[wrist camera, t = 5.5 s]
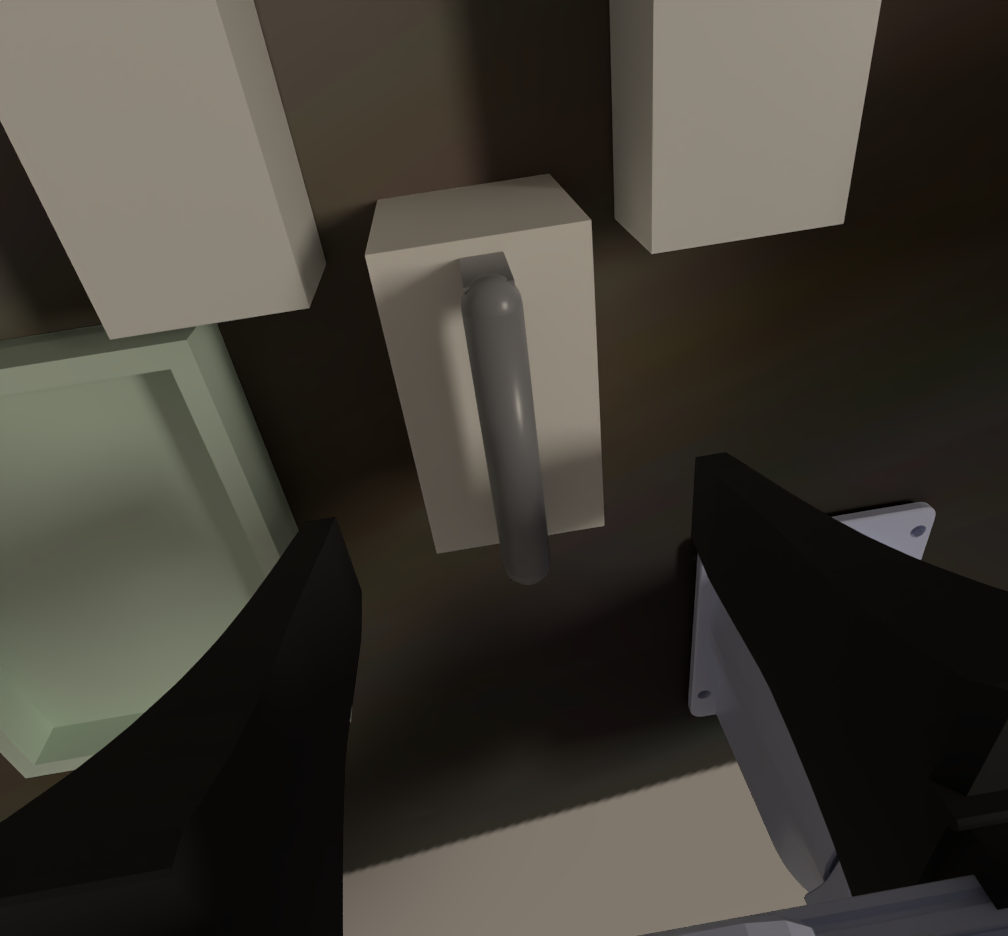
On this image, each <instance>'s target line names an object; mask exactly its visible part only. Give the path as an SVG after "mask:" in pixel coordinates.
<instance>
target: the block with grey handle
mask: <svg viewBox="0 0 1008 936" xmlns="http://www.w3.org/2000/svg"><path fill="white" fill-rule="evenodd" d="M365 259H366V263H367V267H368V271H369V275H370V279H371V283H372V288H373V292H374V296H375V300H376V304H377V308H378V312H379V316H380V321H381V325H382V329H383V333H384V337H385V341H386V345H387V350H388V354H389V358H390V362H391V366H392V370H393V374H394V378H395V383H396V387H397V391H398V395H399V399H400V403H401V407H402V412H403V416H404V420H405V424H406V428H407V432H408V436H409V440H410V445H411V449H412V453H413V457H414V461H415V465H416V469H417V474H418V478H419V482H420V486H421V490H422V494H423V498H424V502H425V507H426V511H427V515H428V519H429V523H430V527H431V531H432V536H433V540H434V544H435V548H436V552H437V554H438V553H444V552H450V551H456V550H462V549H468V548H474V547H480V546H486V545H492V544H498V543H500V548H501V554H502V560H503V565H504V569H505V571H506V573H507V575H508V576H509V577H510V579H511V581H515V582H517V583H519V584H523V585H531V584H535V583H537V582H539V581H541V580H542V579H543V578H544V577H545V576H546V575H548V571H549V568H550V563H551V559H550V549H549V540H548V535H552V534H558V533H564V532H570V531H576V530H582V529H588V528H594V527H600V526H604V503H603V480H602V457H601V433H600V410H599V387H598V363H597V340H596V317H595V293H594V270H593V247H592V223H591V219H590V218H589V217H588V216H587V215H586V214H585V212H584V211H583V210H582V209H581V208H580V207H579V206H578V205H577V204H576V203H575V201H574V200H573V199H572V198H571V197H570V196H569V195H568V194H567V193H566V192H565V190H564V189H563V188H562V187H561V186H560V185H559V184H558V183H557V182H556V181H555V179H554V178H553V177H552V176H551V175H550V174H544V175H537V176H531V177H524V178H518V179H511V180H505V181H498V182H492V183H485V184H479V185H472V186H466V187H459V188H453V189H446V190H440V191H433V192H427V193H420V194H414V195H407V196H401V197H394V198H388V199H381V200H377V204H376V208H375V213H374V217H373V221H372V226H371V230H370V234H369V239H368V243H367V247H366V252H365Z"/></svg>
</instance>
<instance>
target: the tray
mask: <svg viewBox="0 0 1008 936" xmlns="http://www.w3.org/2000/svg"><path fill="white" fill-rule="evenodd" d="M298 531H299V530H298V527H297V525H296V522H295V520H294V517H293V515H292V512H291V510H290V507H289V505H288V502H287V500H286V497H285V495H284V492H283V489H282V487H281V484H280V482H279V479H278V477H277V474H276V472H275V469H274V467H273V464H272V462H271V459H270V457H269V454H268V451H267V449H266V446H265V444H264V441H263V439H262V436H261V434H260V431H259V429H258V426H257V424H256V421H255V419H254V416H253V413H252V411H251V408H250V406H249V403H248V401H247V398H246V396H245V393H244V391H243V388H242V386H241V383H240V381H239V378H238V375H237V373H236V370H235V368H234V365H233V363H232V360H231V358H230V355H229V353H228V350H227V348H226V345H225V343H224V340H223V337H222V335H221V332H220V330H219V327H218V325H217V323H212V324H206V325H200V326H193V327H187V328H181V329H174V330H168V331H162V332H155V333H149V334H143V335H136V336H130V337H124V338H117V339H111V340H110V339H109V337H108V335H107V333H106V331H105V329H104V327H103V325H96V326H90V327H83V328H77V329H71V330H64V331H58V332H52V333H45V334H39V335H33V336H26V337H20V338H14V339H7V340H1V341H0V753H1V754H2V755H3V756H4V757H5V758H6V759H7V760H8V761H9V762H10V763H11V764H12V765H13V766H14V767H15V768H16V769H17V770H18V771H19V772H20V773H21V774H22V775H23V776H24V777H25V778H30V777H36V776H41V775H47V774H53V773H59V772H65V771H70V770H75V769H77V768H78V767H79V766H81V765H82V764H83V763H84V762H86V761H87V760H88V759H90V758H91V757H92V756H93V755H95V754H96V753H97V752H98V751H100V750H101V749H102V748H104V747H105V746H106V745H107V744H108V743H110V742H111V741H112V740H113V739H114V738H116V737H117V736H118V735H119V734H121V733H122V732H123V731H124V730H125V729H127V728H128V727H129V726H130V725H131V724H132V723H134V722H135V721H136V720H137V719H138V718H139V717H140V716H141V715H142V714H143V713H144V712H146V711H147V710H148V709H149V708H150V707H151V706H152V705H153V704H154V703H155V702H157V701H158V700H159V699H160V698H161V697H162V696H163V695H164V694H165V693H166V692H167V691H169V690H170V689H171V688H172V687H173V686H174V685H175V684H176V683H177V682H178V681H179V680H180V679H181V678H182V677H183V676H184V675H185V674H186V673H187V672H188V671H189V670H190V669H191V668H192V667H193V666H194V665H195V664H196V663H197V662H198V660H199V659H200V658H201V657H202V656H203V655H204V654H205V653H206V652H207V651H208V650H209V649H210V648H211V646H212V645H213V644H214V643H215V642H216V641H217V640H218V639H219V637H220V636H221V635H222V634H223V633H224V631H225V630H226V629H227V628H228V626H229V625H230V624H231V623H232V621H233V620H234V619H235V618H236V617H237V615H238V614H239V613H240V612H241V610H242V609H243V608H244V607H245V605H246V604H247V603H248V601H249V600H250V599H251V597H252V596H253V595H254V593H255V592H256V591H257V589H258V588H259V586H260V585H261V584H262V582H263V581H264V580H265V578H266V577H267V575H268V574H269V573H270V571H271V570H272V568H273V567H274V566H275V564H276V563H277V561H278V560H279V558H280V557H281V556H282V554H283V553H284V551H285V550H286V548H287V547H288V545H289V544H290V542H291V541H292V540H293V538H294V537H295V535H296V534H297V533H298ZM351 714H352V711H351ZM350 722H351V718H350Z"/></svg>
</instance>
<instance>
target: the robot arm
mask: <svg viewBox="0 0 1008 936" xmlns="http://www.w3.org/2000/svg"><path fill="white" fill-rule="evenodd" d="M935 513H936V512H935V511H934V509H933V508H932V507H931V506H930V505H929V504H927V503H925V502H916V503H910V504H904V505H898V506H892V507H886V508H880V509H875V510H869V511H863V512H857V513H851V514H845V515H839V516H833V517H830V516H828V515H827V514H825V513H823V512H821V511H820V510H818V509H816V508H814V507H813V506H811V505H809V504H808V503H806V502H804V501H803V500H801V499H799V498H798V497H796V496H794V495H793V494H791V493H790V492H788V491H786V490H785V489H783V488H782V487H780V486H778V485H777V484H775V483H774V482H772V481H771V480H769V479H767V478H766V477H764V476H763V475H761V474H760V473H758V472H756V471H755V470H753V469H752V468H750V467H749V466H747V465H746V464H744V463H742V462H741V461H739V460H738V459H736V458H734V457H733V456H731V455H729V454H728V453H726V452H725V453H719V454H713V455H707V456H701V457H696V459H695V477H694V495H693V513H692V531H691V536H692V539H693V542H694V544H695V547H696V549H697V552H698V556H697V571H696V587H695V603H694V618H693V634H692V649H691V665H690V680H689V696H688V707H689V709H690V712H691V714H692V715H694V716H697V717H702V716H708V715H714V714H716V715H717V717H718V719H719V721H720V724H721V726H722V728H723V731H724V733H725V735H726V737H727V740H728V742H729V744H730V747H731V749H732V751H733V753H734V756H735V758H736V760H737V763H738V765H739V767H740V769H741V772H742V774H743V776H744V779H745V781H746V783H747V785H748V788H749V790H750V792H751V795H752V797H753V799H754V801H755V803H756V806H757V808H758V811H759V813H760V815H761V817H762V820H763V822H764V824H765V826H766V829H767V831H768V833H769V836H770V838H771V840H772V842H773V845H774V847H775V849H776V851H777V853H778V854H779V856H780V858H781V860H782V862H783V863H784V865H785V866H786V868H787V869H788V870H789V872H790V873H791V874H792V875H793V876H794V878H795V879H796V880H797V881H798V882H799V883H800V884H801V885H802V886H803V887H804V888H805V889H806V890H807V891H808V892H809V893H807V894H806V895H805V897H804V899H805V901H806V903H807V905H805V906H799V907H793V908H789V909H783V910H777V911H772V912H767V913H761V914H756V915H750V916H744V917H738V918H733V919H728V920H722V921H717V922H711V923H705V924H700V925H694V926H689V927H684V928H678V929H672V930H667V931H662V932H656V933H650V934H645V935H639V936H1008V592H1007V591H1004V590H1001V589H998V588H995V587H992V586H989V585H986V584H983V583H980V582H977V581H974V580H972V579H969V578H966V577H963V576H961V575H958V574H955V573H953V572H950V571H947V570H945V569H942V568H939V567H936V566H934V565H931V564H929V563H926V562H924V561H922V560H921V558H922V555H923V552H924V549H925V546H926V543H927V540H928V537H929V534H930V531H931V528H932V525H933V522H934V519H935ZM361 630H362V591H361V588H360V585H359V582H358V580H357V577H356V574H355V571H354V568H353V565H352V562H351V559H350V556H349V554H348V551H347V548H346V545H345V542H344V539H343V536H342V533H341V531H340V528H339V525H338V522H337V519H336V517H333V518H327V519H321V520H315V521H309V522H305V523H304V524H303V526H302V527H301V528H300V530H299V531H298V533H297V534H296V535H295V537H294V538H293V540H292V541H291V542H290V544H289V545H288V547H287V548H286V550H285V551H284V553H283V554H282V556H281V557H280V558H279V560H278V561H277V563H276V564H275V566H274V567H273V568H272V570H271V571H270V573H269V574H268V575H267V577H266V578H265V580H264V581H263V582H262V584H261V585H260V586H259V588H258V589H257V591H256V592H255V593H254V595H253V596H252V597H251V599H250V600H249V601H248V603H247V604H246V605H245V607H244V608H243V609H242V610H241V612H240V613H239V614H238V615H237V617H236V618H235V619H234V620H233V621H232V623H231V624H230V625H229V626H228V628H227V629H226V630H225V631H224V633H223V634H222V635H221V636H220V637H219V639H218V640H217V641H216V642H215V643H214V644H213V645H212V646H211V648H210V649H209V650H208V651H207V652H206V653H205V654H204V655H203V656H202V657H201V658H200V659H199V660H198V662H197V663H196V664H195V665H194V666H193V667H192V668H191V669H190V670H189V671H188V672H187V673H186V674H185V675H184V676H183V677H182V678H181V679H180V680H179V681H178V682H177V683H176V684H175V685H174V686H173V687H172V688H171V689H170V690H169V691H167V692H166V693H165V694H164V695H163V696H162V697H161V698H160V699H159V700H158V701H157V702H155V703H154V704H153V705H152V706H151V707H150V708H149V709H148V710H147V711H146V712H144V713H143V714H142V715H141V716H140V717H139V718H138V719H137V720H136V721H135V722H134V723H132V724H131V725H130V726H129V727H128V728H127V729H125V730H124V731H123V732H122V733H121V734H119V735H118V736H117V737H116V738H114V739H113V740H112V741H111V742H110V743H108V744H107V745H106V746H105V747H104V748H102V749H101V750H100V751H98V752H97V753H96V754H95V755H93V756H92V757H91V758H90V759H88V760H87V761H86V762H84V763H83V764H82V765H81V766H79V767H78V768H77V769H75V770H74V771H73V772H71V773H70V774H69V775H67V776H66V777H65V778H63V779H62V780H61V781H59V782H58V783H56V784H55V785H54V786H52V787H51V788H49V789H48V790H46V791H45V792H44V793H42V794H41V795H39V796H38V797H37V798H35V799H34V800H32V801H31V802H29V803H28V804H27V805H25V806H24V807H22V808H21V809H19V810H18V811H17V812H15V813H14V814H12V815H11V816H9V817H8V818H7V819H5V820H4V821H2V822H1V823H0V936H343V814H344V784H345V760H346V750H347V740H348V732H349V725H350V718H351V711H352V704H353V696H354V689H355V682H356V675H357V667H358V660H359V652H360V644H361Z"/></svg>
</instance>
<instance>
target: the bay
mask: <svg viewBox="0 0 1008 936" xmlns="http://www.w3.org/2000/svg"><path fill="white" fill-rule="evenodd" d="M880 6H881V0H609V7H610V48H611V90H612V132H613V173H614V215H615V219H616V220H617V221H618V222H619V223H620V224H621V225H622V226H623V227H624V228H625V229H626V230H627V231H628V232H629V233H630V234H631V235H632V236H633V237H634V238H635V239H636V240H638V241H639V242H640V243H641V244H642V245H643V246H644V247H645V248H646V249H647V250H648V251H649V252H650V253H651V254H655V253H661V252H668V251H674V250H680V249H687V248H693V247H699V246H706V245H712V244H718V243H725V242H731V241H737V240H744V239H750V238H756V237H763V236H769V235H775V234H782V233H788V232H794V231H801V230H807V229H813V228H820V227H826V226H832V225H839V224H844V218H845V212H846V206H847V200H848V194H849V189H850V183H851V177H852V171H853V165H854V159H855V153H856V147H857V142H858V136H859V130H860V124H861V118H862V112H863V106H864V100H865V94H866V89H867V83H868V77H869V71H870V65H871V59H872V53H873V47H874V41H875V36H876V30H877V24H878V18H879V12H880ZM0 121H1V123H2V125H3V127H4V129H5V131H6V133H7V135H8V137H9V139H10V141H11V143H12V145H13V147H14V149H15V151H16V153H17V155H18V157H19V159H20V161H21V163H22V165H23V167H24V169H25V171H26V173H27V175H28V177H29V179H30V181H31V183H32V185H33V187H34V189H35V191H36V193H37V195H38V197H39V199H40V201H41V203H42V205H43V207H44V209H45V211H46V213H47V215H48V217H49V219H50V221H51V223H52V225H53V227H54V229H55V231H56V233H57V235H58V237H59V239H60V241H61V243H62V245H63V247H64V249H65V251H66V253H67V255H68V257H69V259H70V261H71V263H72V265H73V267H74V269H75V271H76V273H77V275H78V277H79V279H80V281H81V283H82V285H83V287H84V289H85V291H86V293H87V295H88V297H89V299H90V301H91V303H92V305H93V307H94V309H95V311H96V313H97V315H98V317H99V319H100V321H101V323H102V325H103V327H104V329H105V331H106V333H107V335H108V337H109V339H110V340H111V339H117V338H124V337H130V336H136V335H143V334H149V333H155V332H162V331H168V330H174V329H181V328H187V327H193V326H200V325H206V324H212V323H219V322H225V321H231V320H238V319H244V318H250V317H257V316H263V315H269V314H275V313H282V312H288V311H294V310H301V309H307V308H310V305H311V303H312V300H313V297H314V295H315V292H316V290H317V287H318V284H319V282H320V279H321V277H322V274H323V271H324V269H325V266H326V260H325V257H324V253H323V249H322V246H321V242H320V239H319V235H318V231H317V228H316V224H315V221H314V217H313V213H312V210H311V206H310V203H309V199H308V195H307V192H306V188H305V185H304V181H303V177H302V174H301V170H300V167H299V163H298V159H297V156H296V152H295V149H294V145H293V141H292V138H291V134H290V131H289V127H288V123H287V120H286V116H285V113H284V109H283V106H282V102H281V98H280V95H279V91H278V88H277V84H276V80H275V77H274V73H273V70H272V66H271V62H270V59H269V55H268V52H267V48H266V44H265V41H264V37H263V34H262V30H261V26H260V23H259V19H258V16H257V12H256V8H255V5H254V1H253V0H0Z"/></svg>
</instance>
